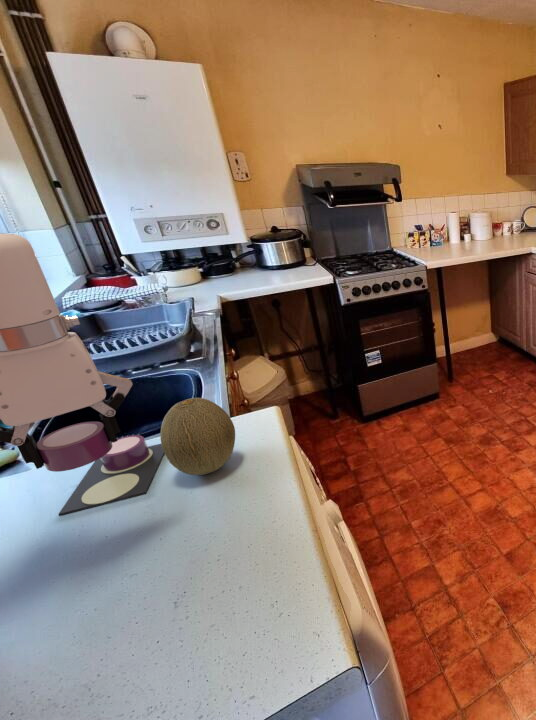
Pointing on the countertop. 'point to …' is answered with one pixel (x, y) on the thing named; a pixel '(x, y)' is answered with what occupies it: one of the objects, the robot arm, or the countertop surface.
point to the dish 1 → (74, 446)
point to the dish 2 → (126, 453)
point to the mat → (113, 483)
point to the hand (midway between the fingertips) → (77, 449)
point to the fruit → (197, 436)
